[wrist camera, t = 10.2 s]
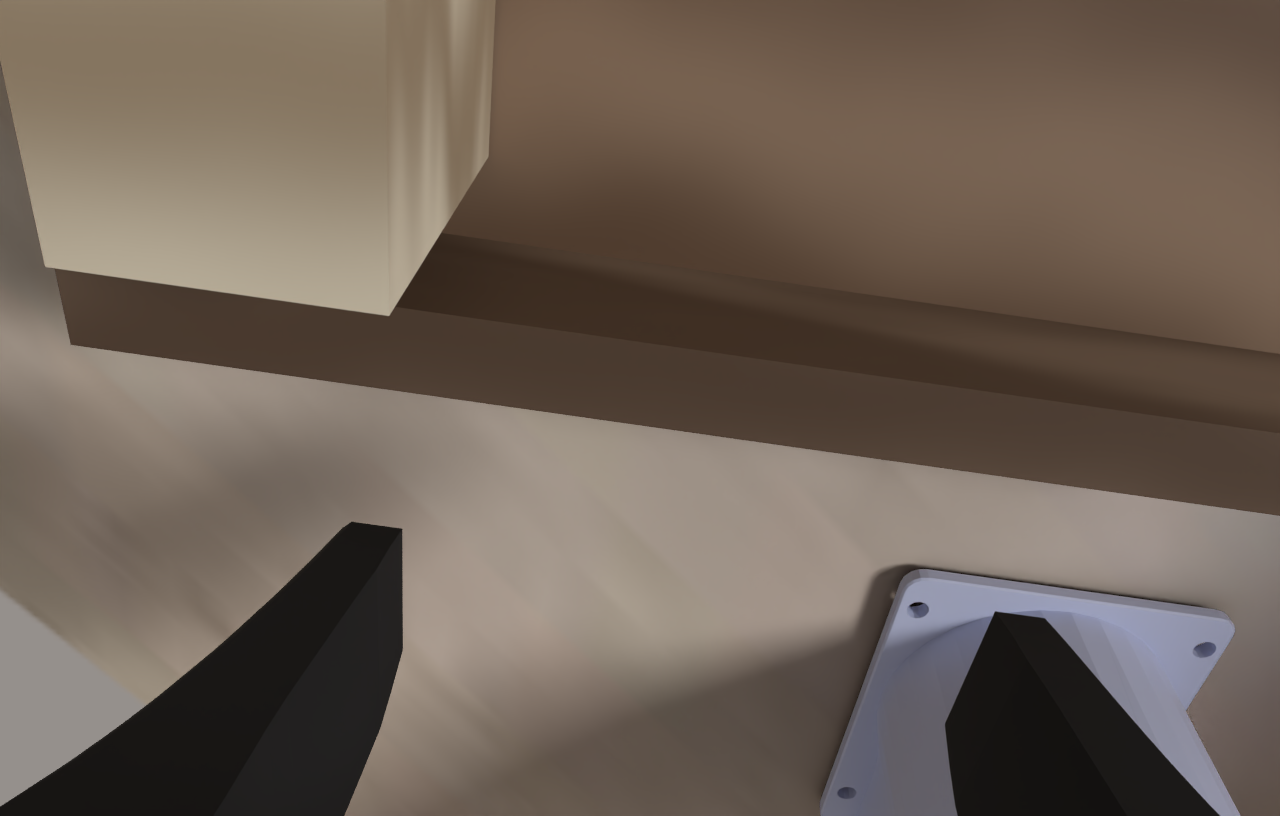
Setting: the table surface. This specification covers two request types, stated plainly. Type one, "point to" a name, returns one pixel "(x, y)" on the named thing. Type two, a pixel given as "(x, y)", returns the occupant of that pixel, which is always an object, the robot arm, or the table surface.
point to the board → (842, 240)
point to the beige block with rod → (249, 138)
